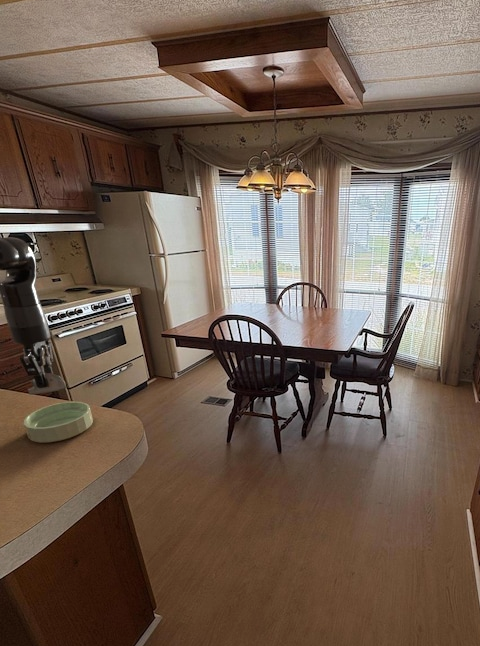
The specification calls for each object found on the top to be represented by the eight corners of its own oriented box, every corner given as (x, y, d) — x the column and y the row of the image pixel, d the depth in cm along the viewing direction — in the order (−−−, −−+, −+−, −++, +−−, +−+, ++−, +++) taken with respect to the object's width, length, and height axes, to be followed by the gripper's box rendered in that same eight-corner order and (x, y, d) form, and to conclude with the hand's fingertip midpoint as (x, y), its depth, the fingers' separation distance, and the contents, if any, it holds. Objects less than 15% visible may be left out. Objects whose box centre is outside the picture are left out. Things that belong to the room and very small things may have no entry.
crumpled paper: (67, 390, 94) (60, 366, 92) (29, 397, 90) (21, 373, 87) (66, 384, 97) (60, 361, 95) (30, 391, 93) (22, 367, 90)
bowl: (19, 448, 90) (13, 432, 88) (39, 420, 103) (34, 405, 101) (87, 438, 96) (82, 423, 94) (98, 412, 108) (94, 398, 107)
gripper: (20, 316, 91) (38, 374, 97) (-5, 330, 79) (18, 396, 85) (54, 314, 93) (70, 371, 100) (35, 328, 81) (54, 392, 88)
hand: (46, 383), depth 93 cm, fingers closed on crumpled paper, 4 cm apart
